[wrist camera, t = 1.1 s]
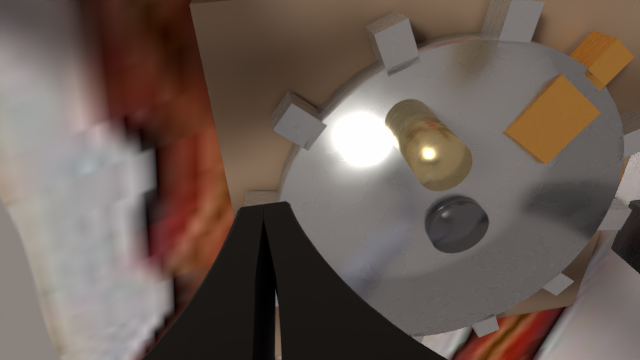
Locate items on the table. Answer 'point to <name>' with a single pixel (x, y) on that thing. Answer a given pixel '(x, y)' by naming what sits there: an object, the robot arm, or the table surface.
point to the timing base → (349, 58)
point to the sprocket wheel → (459, 167)
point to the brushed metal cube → (630, 238)
